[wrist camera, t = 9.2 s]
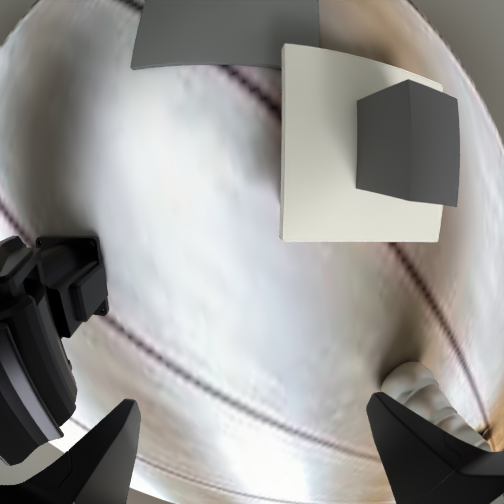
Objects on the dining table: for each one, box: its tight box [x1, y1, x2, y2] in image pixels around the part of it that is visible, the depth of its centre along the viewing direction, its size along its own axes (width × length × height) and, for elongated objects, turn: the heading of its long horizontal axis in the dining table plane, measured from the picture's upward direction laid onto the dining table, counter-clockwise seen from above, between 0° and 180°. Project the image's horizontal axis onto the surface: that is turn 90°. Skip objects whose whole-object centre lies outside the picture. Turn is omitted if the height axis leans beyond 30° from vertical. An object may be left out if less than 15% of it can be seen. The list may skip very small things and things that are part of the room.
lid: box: [279, 43, 460, 242], centre depth 11 cm, size 11×11×6 cm
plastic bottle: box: [381, 362, 491, 452], centre depth 16 cm, size 6×7×20 cm
